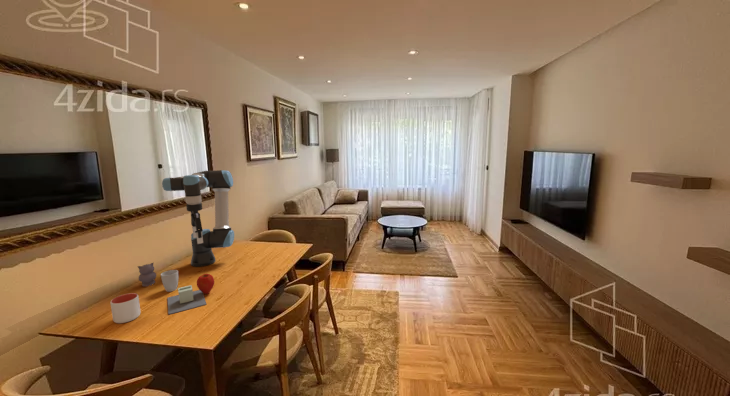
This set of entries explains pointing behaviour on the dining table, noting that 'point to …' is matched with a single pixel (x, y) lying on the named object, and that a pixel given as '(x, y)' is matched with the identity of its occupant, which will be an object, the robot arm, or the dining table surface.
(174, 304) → the grey piece
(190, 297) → the pale green block
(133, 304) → the cup
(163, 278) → the cup
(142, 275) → the cat figurine
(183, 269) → the dining table surface
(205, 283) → the apple
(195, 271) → the dining table surface
